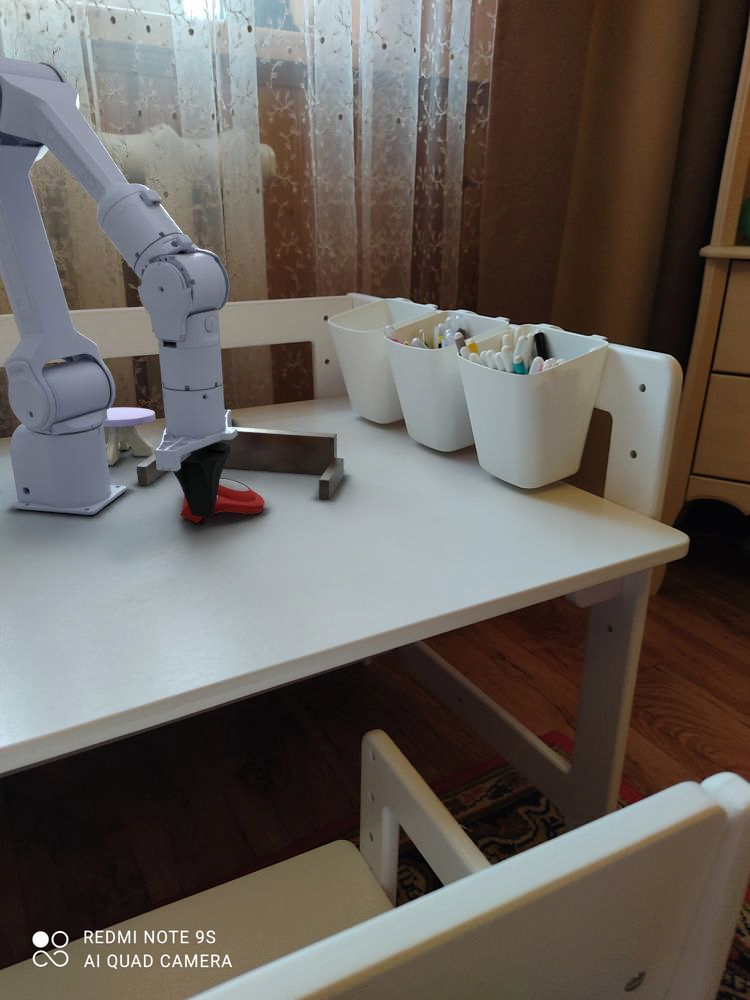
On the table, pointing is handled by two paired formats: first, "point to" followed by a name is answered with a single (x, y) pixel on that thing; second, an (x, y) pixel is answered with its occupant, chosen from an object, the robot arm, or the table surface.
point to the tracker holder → (230, 500)
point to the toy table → (126, 431)
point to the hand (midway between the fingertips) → (202, 514)
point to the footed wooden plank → (275, 456)
